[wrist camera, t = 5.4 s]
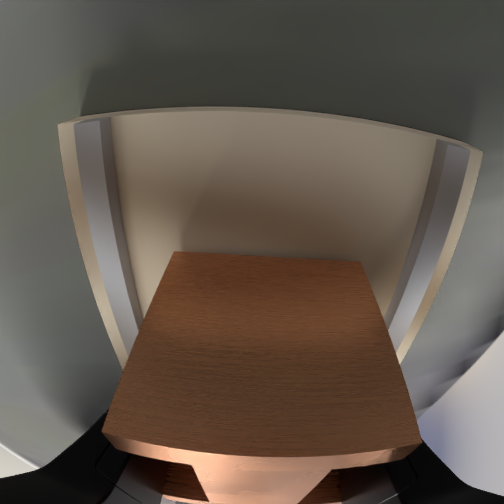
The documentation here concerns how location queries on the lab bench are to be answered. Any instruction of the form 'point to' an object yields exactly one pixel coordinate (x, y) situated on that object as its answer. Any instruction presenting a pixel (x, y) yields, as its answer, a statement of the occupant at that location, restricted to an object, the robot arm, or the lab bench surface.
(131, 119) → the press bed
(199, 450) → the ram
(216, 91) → the lab bench surface
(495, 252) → the lab bench surface
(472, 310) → the lab bench surface
